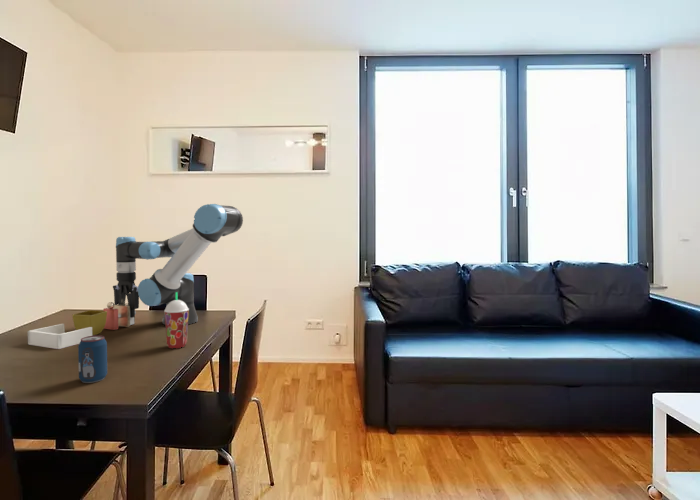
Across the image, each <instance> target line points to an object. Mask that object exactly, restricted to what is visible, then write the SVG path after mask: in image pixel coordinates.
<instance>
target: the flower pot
mask: <svg viewBox="0 0 700 500" xmlns="http://www.w3.org/2000/svg"><path fill="white" fill-rule="evenodd" d="M71 317H72V321H73V326H74V329H75V330H79V329H84V328H88V327H92V336H95V335H99V334H101V333H102V331H103V330H104V326H105V324H106V317H107V311H103V310H91V309H89V310H85V311H81V312H76V313H74V314H72V315H71Z"/></svg>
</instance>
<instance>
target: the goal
mask: <svg viewBox="0 0 700 500" xmlns="http://www.w3.org/2000/svg"><path fill="white" fill-rule="evenodd" d="M88 336H92V327H88V328H84V329H79V330H76V329H75V330H72V331H68V332H65V323H58V324H55V325H49V326H45V327H40V328H35V329H30V330H27V345H30V346H36V347H43V348H50V349H55V350H60V349H64V348H68V347H72V346H76V345H79V343H80V341H81V339H82V338H84V337H88Z"/></svg>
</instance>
